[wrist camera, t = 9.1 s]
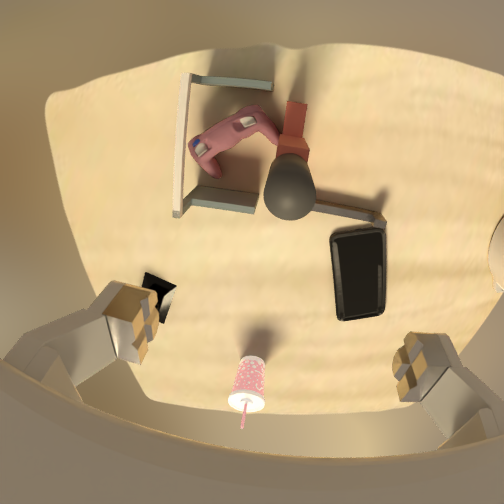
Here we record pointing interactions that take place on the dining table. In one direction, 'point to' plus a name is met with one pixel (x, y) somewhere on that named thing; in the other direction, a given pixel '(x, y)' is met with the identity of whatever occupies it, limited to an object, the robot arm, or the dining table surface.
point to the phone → (359, 272)
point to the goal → (200, 193)
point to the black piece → (160, 293)
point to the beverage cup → (248, 386)
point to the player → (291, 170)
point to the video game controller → (230, 136)
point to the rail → (351, 213)
